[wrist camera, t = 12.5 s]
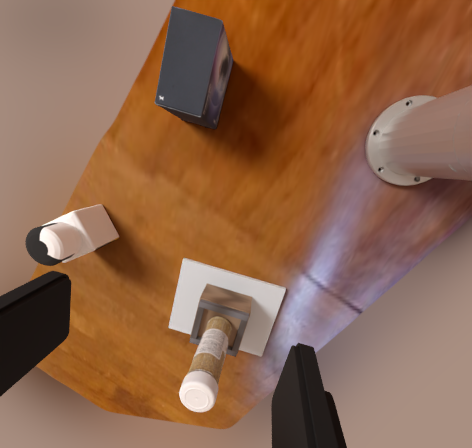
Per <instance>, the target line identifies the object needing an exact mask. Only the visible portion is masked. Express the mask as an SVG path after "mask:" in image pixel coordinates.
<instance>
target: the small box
mask: <svg viewBox="0 0 472 448" xmlns="http://www.w3.org/2000/svg"><path fill="white" fill-rule="evenodd" d="M232 64H233V58H232V54H231V51H230V47H229V44H228V40H227V36H226V32H225V29H224V25H223V21H222V20H219V19H216V18H213V17H209V16H206V15H202V14H199V13H195V12H192V11H188V10H185V9H181V8H177V7H173V6H172V9H171V14H170V20H169V26H168V31H167V37H166V42H165V48H164V53H163V59H162V65H161V71H160V76H159V82H158V87H157V93H156V99H155V104H156V105H158V106H160V107H162V108H164V109H165V110H167V111H169V112H170V113H172V114H174V115H175V116H177V117H179V118H181V120H184V121H189V122H191V123H195V124H198V125H202V126H205V127H207V128H212V129H216V128H217V124H218V120H219V116H220V112H221V108H222V104H223V100H224V96H225V92H226V89H227V84H228V80H229V76H230V73H231V69H232Z"/></svg>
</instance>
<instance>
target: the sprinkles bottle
mask: <svg viewBox="0 0 472 448" xmlns="http://www.w3.org/2000/svg"><path fill="white" fill-rule="evenodd" d="M231 332H232V327H231V324H230V323H229V321H228V320H227V319H225V318H223V317H218V316H216V317H213V318H211V319H210V320H209V321H208V323H207V326H206V330H205V332H204V334H203V336H202V338H201V341H200V343H199V346H198V348H197V351H196V353H195V356H194V358H193V361H192V364H191V367H190V369H189V372H188V373H187V375H186V376H185V378H184V380H183V383H182V386H181V388H180V393H179V395H180V399H181V401H182V403H183V404H184V406H186V407H187V408H188V409H190V410H192V411H195V412H205V411H208V410H210V409H211V408H212V407H213V406H214V404H215V401H216V397H217V393H218V382H219V378H220V374H221V370H222V367H223V364H224V359H225V356H226V351H227V347H228V341H229V337H230V335H231Z"/></svg>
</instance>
